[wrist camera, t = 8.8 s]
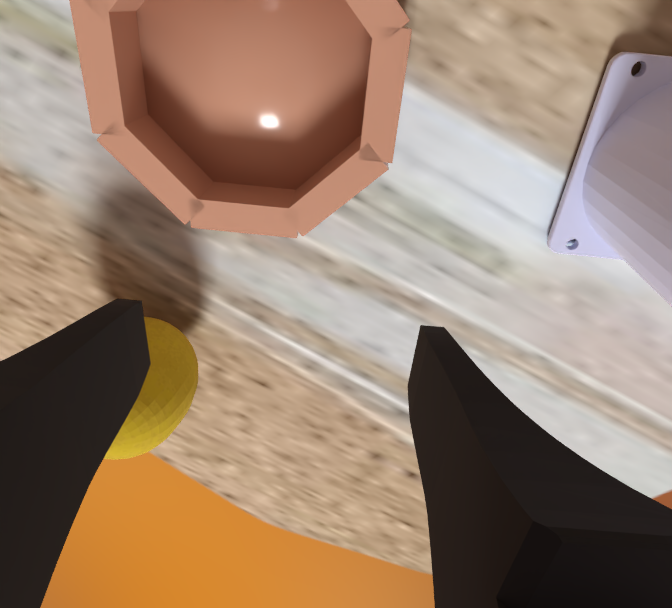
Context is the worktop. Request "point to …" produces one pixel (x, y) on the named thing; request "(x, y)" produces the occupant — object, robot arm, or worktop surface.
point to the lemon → (159, 392)
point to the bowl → (246, 102)
